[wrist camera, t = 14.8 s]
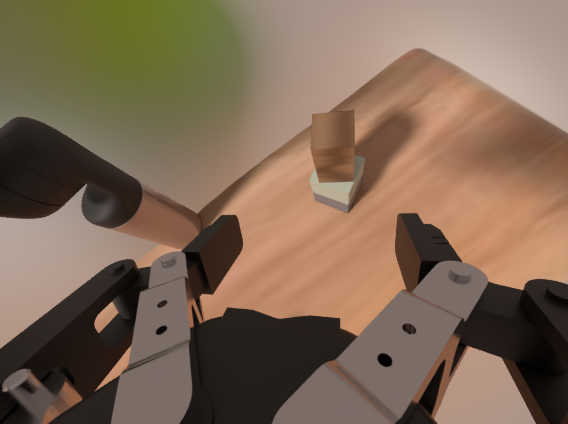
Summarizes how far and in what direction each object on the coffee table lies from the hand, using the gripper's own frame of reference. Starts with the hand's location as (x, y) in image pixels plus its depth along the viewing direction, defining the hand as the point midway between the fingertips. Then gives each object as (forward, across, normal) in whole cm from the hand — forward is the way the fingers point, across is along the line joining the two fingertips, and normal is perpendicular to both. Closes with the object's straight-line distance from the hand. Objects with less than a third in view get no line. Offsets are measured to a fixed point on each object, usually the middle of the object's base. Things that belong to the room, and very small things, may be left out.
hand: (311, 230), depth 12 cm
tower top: (+33, 0, +9) cm, 34 cm away
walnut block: (+30, 0, +5) cm, 30 cm away
